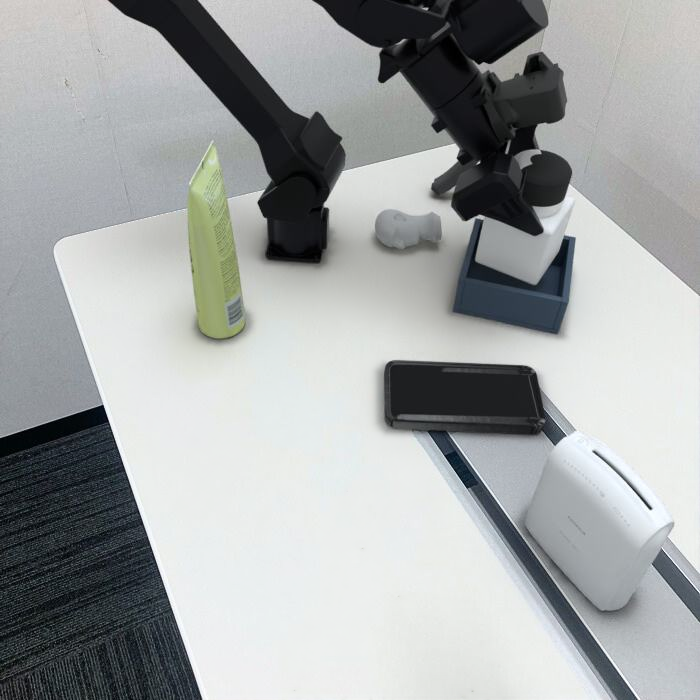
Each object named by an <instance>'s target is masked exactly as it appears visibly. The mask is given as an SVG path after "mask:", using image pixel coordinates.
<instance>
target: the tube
mask: <svg viewBox="0 0 700 700" xmlns="http://www.w3.org/2000/svg"><path fill="white" fill-rule="evenodd" d="M221 168H222V167H221V164H220V159H219V155H218V151H217V147H216V146H215V141H214V139H212V140H211V142H210V143H209V146H208V148H207V150H206V151H205V153H204V154H203V157H202V159H201V161H200V163H199V164H198V166H197V168H196V170H195V171H194V173H193V175H192V177H191V178H190V180H189V183H188V192H187V200H186V202H187V203H186V206H187V207H186V211H187V235H188V236H187V237H188V248H189V259H190V268H191V270H190V271H191V278H192V279H191V280H192V287H193V288H192V289H193V296H194V303H195V310H196V318H197V324H198V328H199V330H200V331H201V333H202V334H204V335H205V336H207V337H210V338H213V339H227V338H231V337H234V336H235V335H237V334H239V333H240V332H241V331H242V330H243V328H244V327H245V325H246V314H245V313H246V312H245V303H244V297H243V289H242V282H241V281H242V280H241V275H240V268H239V267H240V266H239V260H238V254H237V248H236V241H235V236H234V230H233V225H232V219H231V213H230V208H229V202H228V198H227V193H226V187H225V182H224V177H223V172H222V169H221Z"/></svg>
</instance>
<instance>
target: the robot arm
mask: <svg viewBox="0 0 700 700" xmlns="http://www.w3.org/2000/svg"><path fill="white" fill-rule="evenodd" d="M107 1H108V2H109V3H110V4H111V5H112V6H113V7H114V8H115V9H117V10H118V11H119V12H120V13H121V14H122V15H124V16H126V17H128V18H129V19H132V20H135V21H136V22H138V23H140V24H143V25H146V26H147V27H150V28H152V29H154V30H156V31H157V32H158V34H160V35H161V36H162V38H164V40H165V41H166V43H168V45H170V47H171V48H172V50H174V51H175V52H176V54H178V56H179V57H180V58H181V59H182V60H183V61H184V62H185V64H186V65H187V66H188V67H189V68H190V69H191V71H193V72H194V74H195V75H196V76H197V77H198V78H199V79H200V80H201V82H202V83H203V84H204V85H205V86H206V87H207V88H208V90H210V92H211V93H212V94H213V95H214V96H215V97H216V98H217V99H218V100H219V102H220V103H221V104H222V105H223V106H224V107H225V108H226V109H227V110H228V112H229V113H230V114H231V115H232V116H233V117H234V118H235V120H236V121H237V122H238V123H239V124H240V125H241V126H242V127H243V129H244V130H245V131H246V132H247V133H248V134H249V135H250V137H251V138H252V139H253V140H254V141H255V143H256V144H257V146H258V149H259V152H260V156H261V158H262V162H263V164H264V167H265V171H266V174H267V175H268V177H269V179H270V182H269V183H268V185H267V186H266V187H265V189H264V191H263V192H262V193H261V195H260V197H259V198H258V200H257V202H256V203H257V206H258V209H259V211H260V213H261V216H262V217H263V218H264V219H266V228H267V229H266V231H267V232H266V233H267V245H266V249H265V253H264V254H265V255H264V256H265V259H267V260H277V261H290V262H301V263H315V264H319V263H321V262H322V260H323V259H322V258H323V252H324V250H326V249H327V248H328V244H329V238H330V237H329V236H330V208H329V206H328V207H326V206H325V204H326V202H327V200H328V199H329V198H330V195H331V194H332V191H333V190H334V188H335V186H336V184H337V182H338V180H339V178H341V175H342V173H343V171H344V170H345V167H346V157H347V154H346V151H345V149H344V147H343V145H342V143H341V142H342V140H343V137H342V136H341V135H339V134H338V133H337V132H335V131H334V130H333V129H332V128H331V127H330V125H329V124H328V122H327V121H326V118H325V117H324V116H323V114H321V113H320V112H319V111H315V112H313V113H312V115H311V116H310V117H307V116H304V115H302V114H300V113H297V112H295V111H294V110H292V108H290V107H289V106H288V105H287V104H286V102H285V101H284V100H283V98H281V96H280V95H279V94H278V93H277V92H276V90H274V88H273V87H272V86H271V85H270V83H268V81H267V80H266V79H265V78H264V77H263V75H262V74H261V72H259V70H258V69H257V68H256V67H255V66H254V64H252V62H251V61H250V60H249V59H248V57H246V55H245V54H244V53H243V52H242V50H241V49H240V48H239V47H238V46H237V44H236V43H235V42H234V41H233V40H232V39H231V37H230V35H228V33H226V32H225V30H224V29H223V28H222V27H221V25H219V23H218V22H217V21H216V20H215V19H214V17H213V16H212V15H211V13H209V11H208V10H207V9H206V7H205V6H204V5H202V3H201V2H200V1H199V0H107ZM311 1H312V2H314V3H315V4H317V5H319V6H320V7H321V8H323V10H324V11H325V12H326V13H327V15H328V16H330V18H331V19H332V20H333V21H334V22H335V23H336V24H337V25H338V26H339V27H340V28H342V29H343V30H345V31H347V32H348V33H349V34H351V35H353V36H355V37H356V38H357V39H359V40H360V41H362V42H364V43H365V44H367V45H369V46H371V47H374V48H378V49H380V51H379V53H378V57H379V69H378V76H377V82H378V83H380V84H385V83H386V82H388V81H389V80H390V79H392V78H393V77H395V76H396V75H397V74H398V73H400V74H401V76H402V77H403V78H404V79H405V81H406V82H407V83H408V85H409V86H410V87H411V89H412V90H413V91H414V92H415V93H416V95H417V96H418V97H419V99H420V100H421V101H422V103H423V104H424V105H425V106H426V108H427V109H428V110H429V112H430V113H431V114H432V115H433V119H432V121H431V124H430V126H431V128H432V129H433V130H434V132H435V133H436V134H439V133H441V132H442V131H445V132H446V133H447V135H448V136H449V137H450V139H451V140H452V141H453V142H454V144H455V145H456V147H457V148H458V149H459V150H458V152H457V156H456V160H457V162H458V161H459V162H460V163H461V165H462V166H463V165H465V164H467V163H468V162H470V161H472V160H475V162H477V161H479V162H478V163H477V165H475V166H474V167H472V168H470V169H469V170H467V171H465V172H463V173H462V174H460V175H459V177H458V180H457V183H456V186H454V190H453V192H452V197H451V202H450V203H451V204H450V207H451V209H452V210H453V211H454V212H455V213H456V215H457V216H458V218H460V220H461V221H463V222H468V221H470V220H472V219H475V218H477V217H479V216H482V217H488V218H491V219H494V220H497V221H499V222H502V223H504V224H507V225H509V226H511V227H514V228H516V229H518V230H521V231H523V232H525V233H528V234H530V235H532V236H538V235H540V234H542V233H543V232H544V228H543V226H542V224H541V222H540V220H539V218H538V216H537V214H536V212H535V211H534V209H533V207H532V205H531V203H530V201H529V200H528V198H527V196H526V194H525V192H524V191H523V187H524V183H525V178H526V174H527V170H524V171H521V168H520V165H519V163H518V162H517V160H516V159H515V158H514V156H515V155H517V154H518V153H520V152H523V151H526V150H541V149H540V146H539V143H538V140H537V137H536V129H537V127H538V126H537V124H538V125H540V124H541V125H542V124H548V125H550V124H555V123H558V122H560V121H561V120H563V119H564V118H565V117H566V108H567V107H566V106H567V103H568V97H567V92H566V87H565V83H564V76H565V75H564V74H565V72H564V71H563V69H562V68H560V66H559V63H558V62H557V63H553V61H551V60H550V58H549V57H548V56H547V55H546V54H545V53H544V51H538V52H534V53H531V54H528V55H527V56H526V60H525V63H524V68H523V71H522V74H520V72H516V73H514V76H513V77H512V78H510V79H506V80H503V81H502V80H501V79H500V78H499V77H498V75H497V74H496V72H494V71H490V69H487V70H486V71H483V73H482V71H481V70H480V69H479V67H478V66H481V65H482V64H483V63H485V64H487V65H493V64H494V63H496V62H497V61H499V60H500V59H502V58H503V57H505V56H506V55H508V54H509V53H511V52H512V51H513V50H515V49H516V48H518V47H520V46H521V45H522V44H524V43H526V42H527V41H529V40H531V38H533V37H534V36H536V35H538V34H539V33H540V32H542V31H543V30H545V29H546V28H547V27H548V26H549V14H548V11H547V8H546V5H545V3H544V0H311ZM477 65H478V66H477ZM536 126H537V127H536Z"/></svg>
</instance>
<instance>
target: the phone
mask: <svg viewBox="0 0 700 700" xmlns="http://www.w3.org/2000/svg"><path fill="white" fill-rule="evenodd" d="M383 381H384V382H383V384H384V385H383V386H384V387H383V388H384V389H383V390H384V391H383V392H384V393H383V394H384V395H383V396H384V399H383V400H384V422H385V424H386V425H387V426H389V427H390V428H392V429H397V430H418V431H419V430H420V431H421V430H422V431H445V432H466V433H467V432H469V433H470V432H471V433H494V434H495V433H497V434H517V435H518V434H519V435H522V434H523V435H537V434H539V433H541V432H542V430H543V428H544V426H545V423H546V414H545V408H544V404H543V399H542V393H541V388H540V384H539V383H540V382H539V379H538V374H537V372H536V370H535V369H534V368H533V367H531V366H530V365H526V364H525V365H524V364H503V363H481V362H480V363H479V362H478V363H477V362H458V361H457V362H455V361H454V362H453V361H431V360H409V359H408V360H407V359H406V360H405V359H392V360H390V361H388V362H387V363H386V364H385V366H384V373H383Z"/></svg>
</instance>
